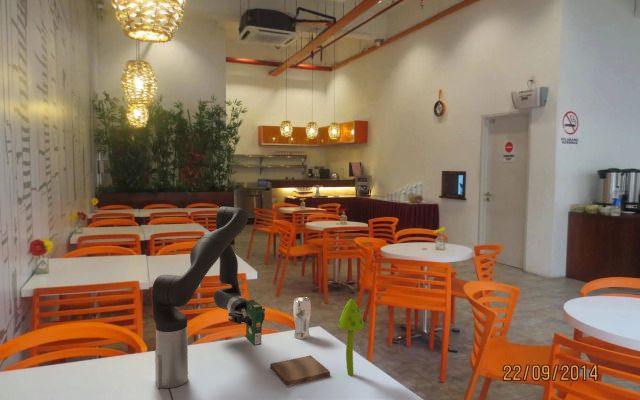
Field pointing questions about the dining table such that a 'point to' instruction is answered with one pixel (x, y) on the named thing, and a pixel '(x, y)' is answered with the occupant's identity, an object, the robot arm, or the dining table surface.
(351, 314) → the mushroom
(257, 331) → the coffee box
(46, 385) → the dining table surface
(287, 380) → the walnut board
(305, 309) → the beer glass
